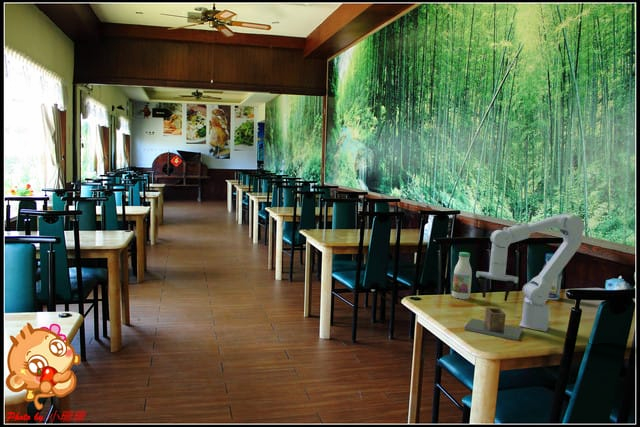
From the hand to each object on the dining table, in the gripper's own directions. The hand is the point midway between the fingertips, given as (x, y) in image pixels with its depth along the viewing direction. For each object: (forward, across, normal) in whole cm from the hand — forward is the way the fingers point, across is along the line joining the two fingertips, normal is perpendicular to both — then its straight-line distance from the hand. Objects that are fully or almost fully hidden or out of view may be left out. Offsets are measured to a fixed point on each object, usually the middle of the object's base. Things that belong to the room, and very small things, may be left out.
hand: (494, 298), depth 196 cm
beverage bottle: (+10, -16, -60) cm, 63 cm away
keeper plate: (+9, -2, +9) cm, 13 cm away
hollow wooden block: (+8, -2, +9) cm, 12 cm away
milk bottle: (+10, +18, -32) cm, 38 cm away
